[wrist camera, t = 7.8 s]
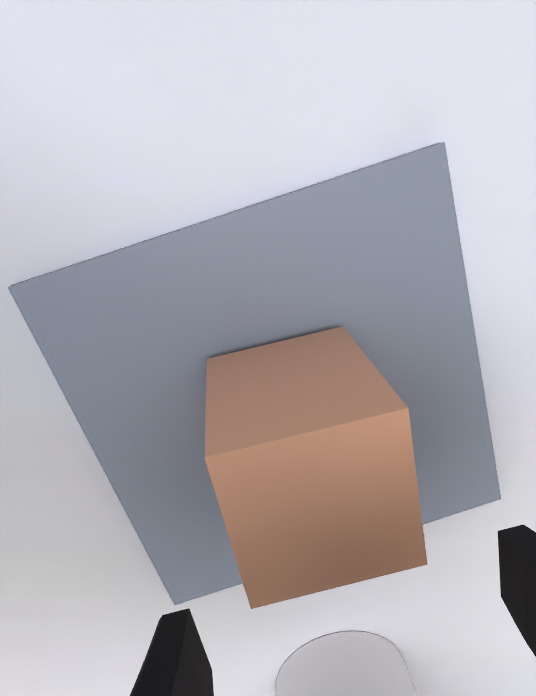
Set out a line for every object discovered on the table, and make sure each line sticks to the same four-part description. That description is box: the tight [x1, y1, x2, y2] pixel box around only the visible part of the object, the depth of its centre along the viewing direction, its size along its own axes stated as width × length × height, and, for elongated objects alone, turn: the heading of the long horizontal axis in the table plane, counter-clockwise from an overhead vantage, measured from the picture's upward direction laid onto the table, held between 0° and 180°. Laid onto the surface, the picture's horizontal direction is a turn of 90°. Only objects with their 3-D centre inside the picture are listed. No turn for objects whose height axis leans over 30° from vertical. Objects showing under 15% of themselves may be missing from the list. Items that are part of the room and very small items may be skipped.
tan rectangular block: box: [205, 326, 427, 609], centre depth 16 cm, size 5×5×7 cm
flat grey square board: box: [8, 142, 501, 605], centre depth 17 cm, size 16×16×7 cm
